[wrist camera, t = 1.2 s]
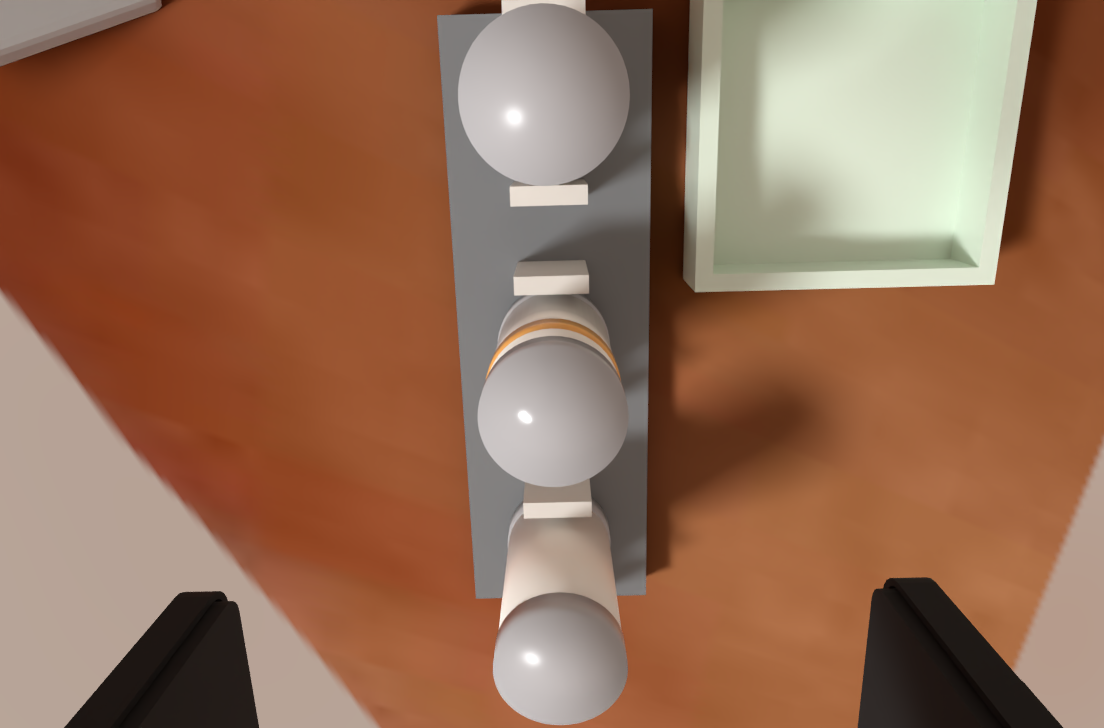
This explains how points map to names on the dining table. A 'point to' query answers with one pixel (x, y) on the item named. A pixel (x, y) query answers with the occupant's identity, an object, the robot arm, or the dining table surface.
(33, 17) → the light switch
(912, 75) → the tray
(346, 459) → the dining table surface
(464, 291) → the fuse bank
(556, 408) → the cylinder
